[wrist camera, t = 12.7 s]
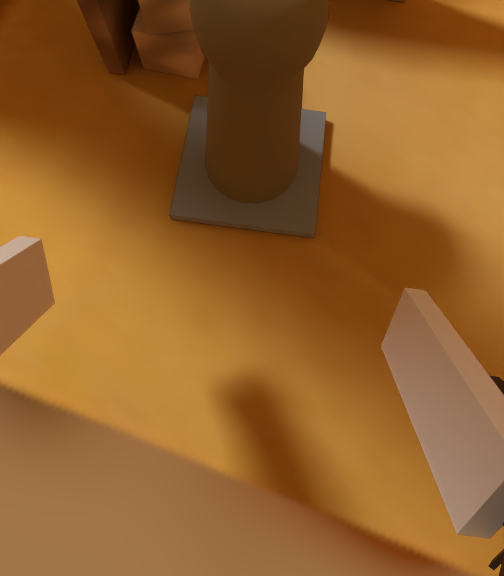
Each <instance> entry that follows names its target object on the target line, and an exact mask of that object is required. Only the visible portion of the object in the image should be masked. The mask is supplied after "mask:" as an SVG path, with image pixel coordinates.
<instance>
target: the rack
mask: <svg viewBox="0 0 504 576" xmlns="http://www.w3.org/2000/svg"><path fill="white" fill-rule="evenodd" d="M77 1H78V4H79V6H80V8H81V11H82V13H83V15H84V18H85V20H86V22H87V24H88V27H89V29H90V31H91V34H92V36H93V38H94V41H95V43H96V45H97V47H98V50H99V52H100V54H101V57H102V59H103V61H104V63H105V66H106V68H107V70H108V72H109V73H117V74H124V75H125V74H126V70H127V66H128V63H129V59H130V56H131V52H132V49H133V45H134V41H135V40H134V37H133V34H132V28H133V25H134V22H135V20H136V17H137V14H138V11H139V9H140V5H139V2H138V0H77ZM392 1H399V2H405V0H392Z"/></svg>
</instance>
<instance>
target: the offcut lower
mask: <svg viewBox="0 0 504 576" xmlns="http://www.w3.org/2000/svg"><path fill="white" fill-rule="evenodd" d="M132 34H133V37H134V40H135V44H136V47H137V50H138V53H139V56H140V60H141V63H142V66H143V69H146V70H152V71H157V72H163V73H168V74H174V75H179V76H185V77H190V78H196V79H198V78H199V75H200V71H201V68H202V64H203V61H204V57H205V56H204V55H203V54H202V52H201V49H200V47H199V44H198V42H197V39H196V36H195V32H194V31H184V32H174V33H163V34H153V35H147V31H146V27H145V24H144V20H143V16H142V13H141V9H139V11H138V14H137V17H136V20H135V22H134V25H133V28H132Z"/></svg>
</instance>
